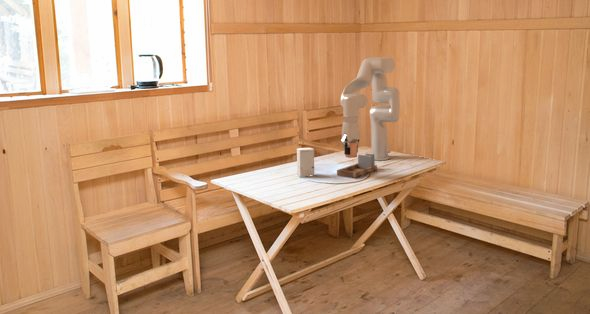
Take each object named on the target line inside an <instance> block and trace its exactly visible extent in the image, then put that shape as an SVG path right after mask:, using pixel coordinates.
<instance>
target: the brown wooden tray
mask: <svg viewBox="0 0 590 314" xmlns="http://www.w3.org/2000/svg"><path fill="white" fill-rule="evenodd" d="M377 171H378V165H376V164H375V165H374V166H371V167H368V168H359V167H358V162H356V163H355V164H352V165H349V166H345V167H343V168H340V169H337V170H336V176H337V175H338V176H337V177H342V176H343V178H349V179H358V178H361V177H364V176H367V175H370V174H372V173H375V172H377Z"/></svg>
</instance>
